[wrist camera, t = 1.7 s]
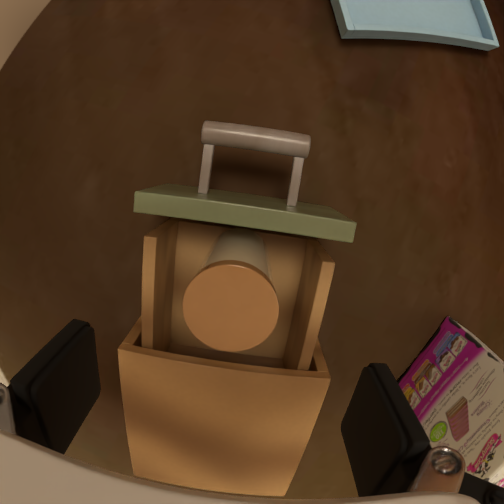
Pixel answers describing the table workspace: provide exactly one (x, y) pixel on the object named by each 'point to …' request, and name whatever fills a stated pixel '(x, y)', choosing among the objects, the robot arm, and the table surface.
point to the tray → (417, 21)
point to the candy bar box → (460, 398)
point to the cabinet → (217, 418)
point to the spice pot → (233, 293)
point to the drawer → (246, 215)
